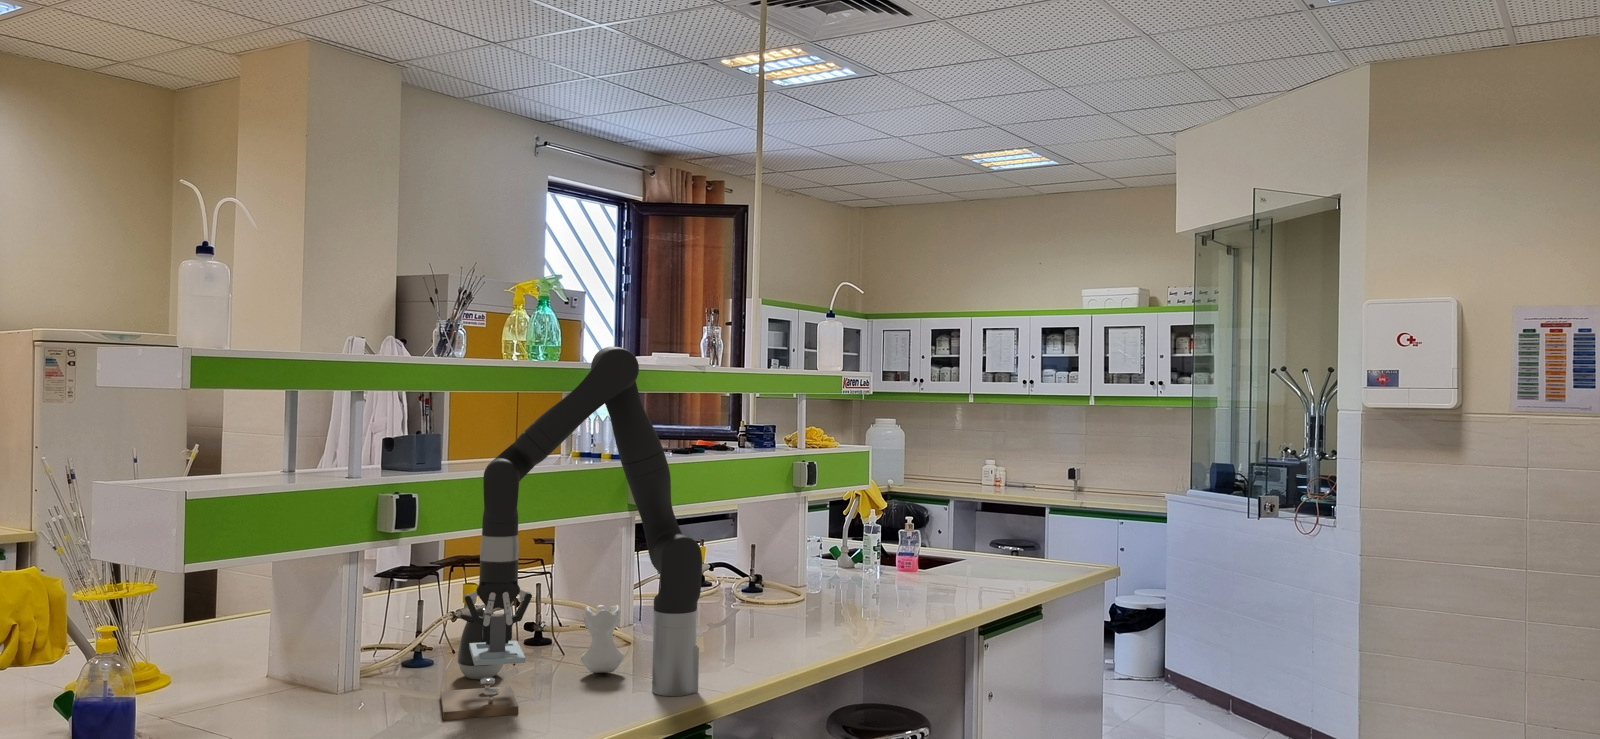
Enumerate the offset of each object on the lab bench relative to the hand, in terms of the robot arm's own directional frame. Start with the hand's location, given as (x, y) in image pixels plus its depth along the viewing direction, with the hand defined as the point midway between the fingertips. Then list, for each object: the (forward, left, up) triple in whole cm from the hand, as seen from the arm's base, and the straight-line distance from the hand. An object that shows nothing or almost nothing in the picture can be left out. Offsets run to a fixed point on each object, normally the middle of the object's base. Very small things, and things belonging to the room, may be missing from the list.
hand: (496, 643), depth 224 cm
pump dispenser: (+1, -24, -13) cm, 27 cm away
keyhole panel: (0, 0, -2) cm, 2 cm away
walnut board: (+3, 0, -12) cm, 13 cm away
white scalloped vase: (-25, -20, -13) cm, 34 cm away
